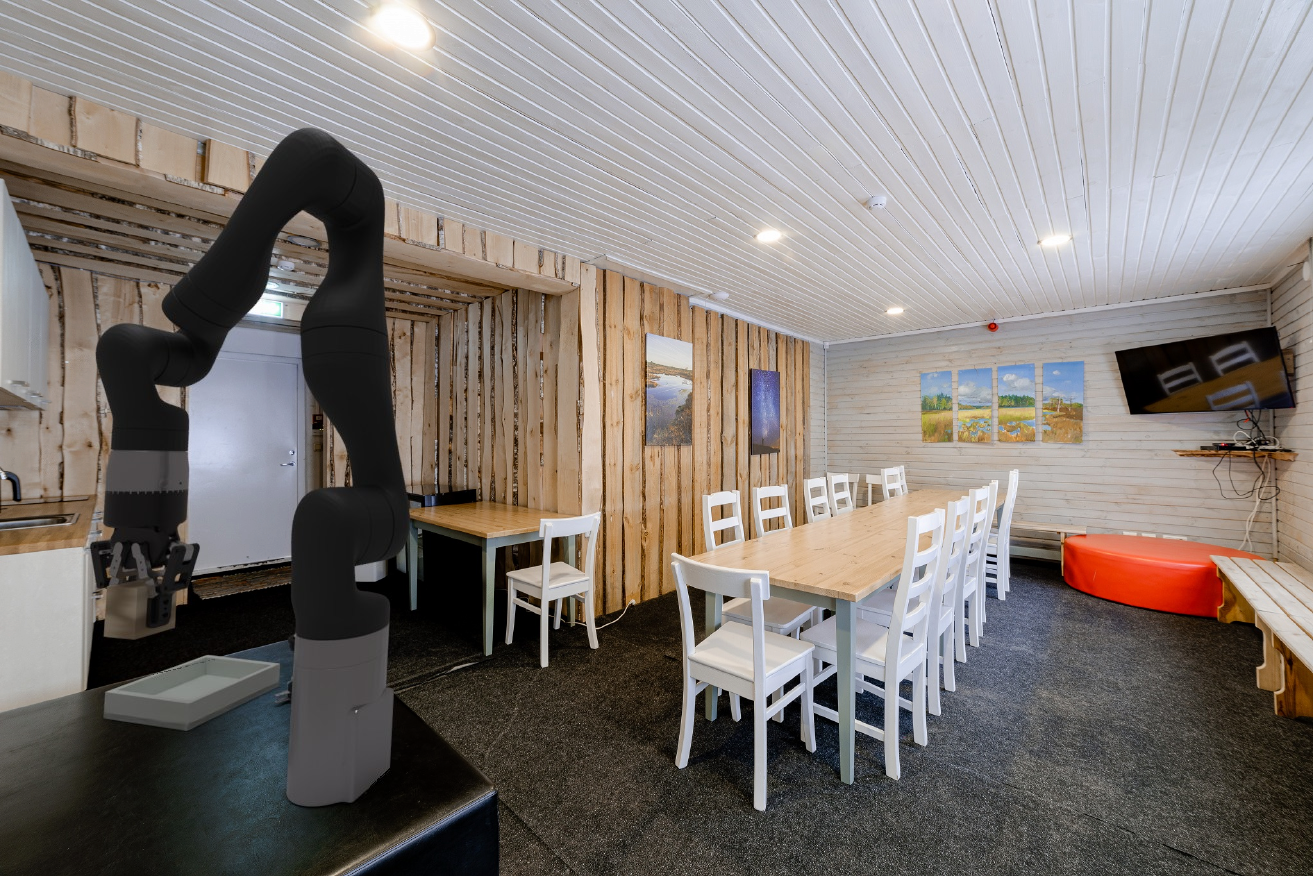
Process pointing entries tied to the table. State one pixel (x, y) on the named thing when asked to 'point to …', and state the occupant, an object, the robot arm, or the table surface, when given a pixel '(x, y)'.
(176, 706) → the tray
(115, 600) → the pine block
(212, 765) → the table surface
